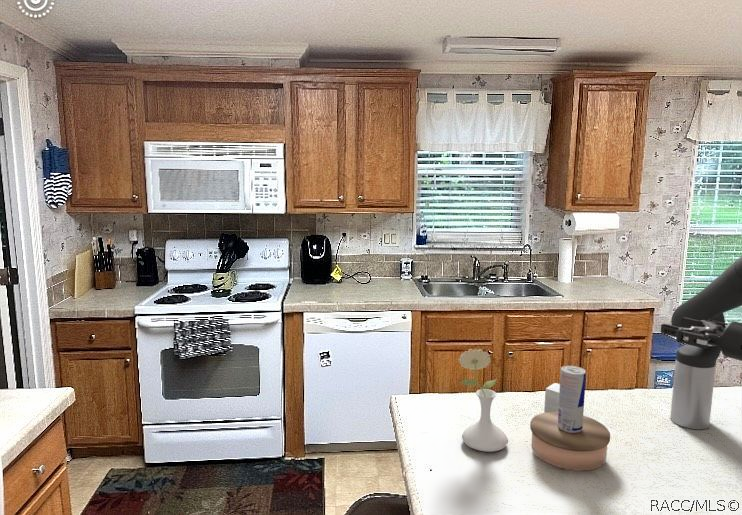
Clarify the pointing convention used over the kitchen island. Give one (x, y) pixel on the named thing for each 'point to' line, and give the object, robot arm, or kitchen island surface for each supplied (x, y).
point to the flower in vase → (482, 407)
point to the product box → (552, 398)
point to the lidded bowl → (569, 442)
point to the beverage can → (571, 399)
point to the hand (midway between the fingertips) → (671, 324)
